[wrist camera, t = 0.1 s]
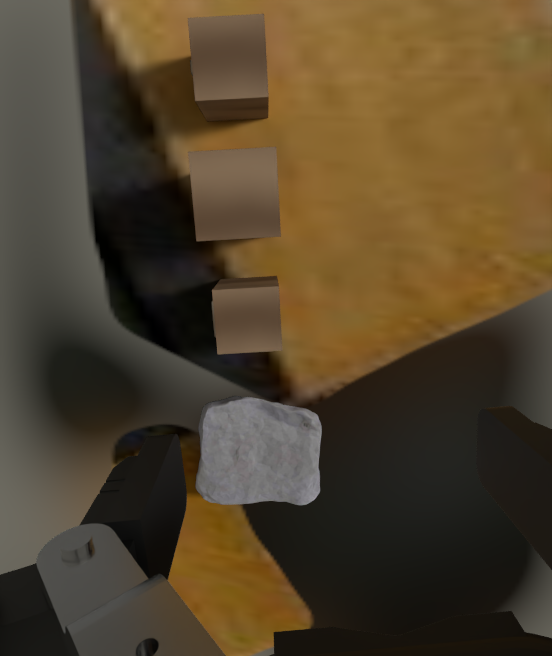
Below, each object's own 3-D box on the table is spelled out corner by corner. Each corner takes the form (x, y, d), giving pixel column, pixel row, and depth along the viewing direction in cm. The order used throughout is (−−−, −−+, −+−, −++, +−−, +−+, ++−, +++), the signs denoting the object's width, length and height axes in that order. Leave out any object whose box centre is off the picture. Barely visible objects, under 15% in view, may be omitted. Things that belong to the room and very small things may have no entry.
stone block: (199, 389, 45) (198, 490, 45) (194, 398, 40) (192, 511, 40) (319, 391, 45) (317, 489, 46) (328, 400, 40) (325, 510, 41)
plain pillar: (208, 169, 38) (188, 151, 28) (273, 165, 38) (276, 146, 28) (214, 236, 39) (196, 241, 30) (277, 232, 39) (280, 236, 30)
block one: (198, 53, 36) (183, 18, 30) (264, 50, 36) (263, 13, 30) (204, 121, 37) (191, 101, 31) (268, 118, 37) (268, 96, 31)
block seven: (217, 279, 40) (208, 290, 34) (276, 276, 40) (278, 286, 34) (222, 334, 41) (214, 354, 35) (279, 330, 41) (282, 350, 35)
